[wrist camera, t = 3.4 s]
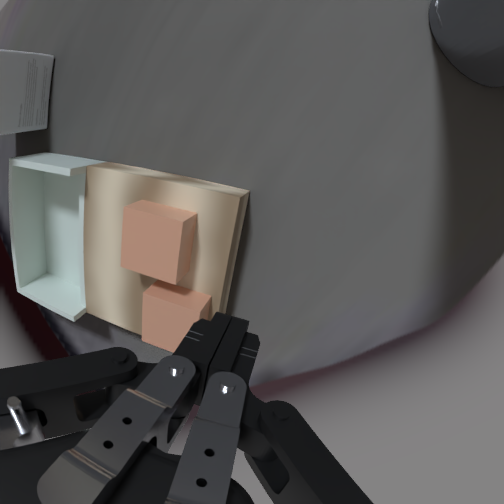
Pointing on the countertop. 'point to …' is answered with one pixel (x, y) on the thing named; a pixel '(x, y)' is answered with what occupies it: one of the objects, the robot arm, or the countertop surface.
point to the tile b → (171, 313)
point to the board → (167, 193)
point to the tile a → (157, 240)
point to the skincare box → (24, 91)
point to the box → (49, 229)
